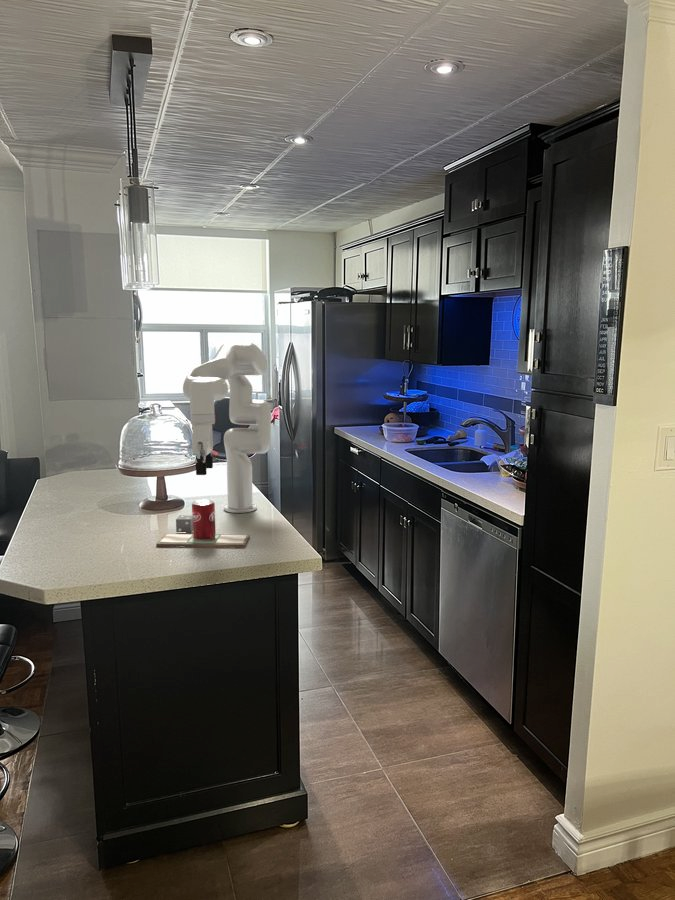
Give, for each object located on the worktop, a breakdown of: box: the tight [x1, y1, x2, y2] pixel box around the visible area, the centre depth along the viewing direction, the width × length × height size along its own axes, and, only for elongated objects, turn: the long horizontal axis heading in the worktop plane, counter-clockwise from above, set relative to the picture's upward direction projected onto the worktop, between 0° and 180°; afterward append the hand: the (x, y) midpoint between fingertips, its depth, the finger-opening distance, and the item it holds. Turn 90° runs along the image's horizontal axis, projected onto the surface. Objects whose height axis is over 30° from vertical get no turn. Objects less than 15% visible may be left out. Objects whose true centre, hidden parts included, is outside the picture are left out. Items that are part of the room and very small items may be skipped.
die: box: [175, 514, 193, 534], centre depth 229 cm, size 5×5×5 cm
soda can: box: [191, 499, 216, 541], centre depth 216 cm, size 7×7×12 cm
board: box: [155, 533, 251, 549], centre depth 217 cm, size 11×28×1 cm, turn 89°
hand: (204, 471), depth 216 cm, fingers open, 9 cm apart
